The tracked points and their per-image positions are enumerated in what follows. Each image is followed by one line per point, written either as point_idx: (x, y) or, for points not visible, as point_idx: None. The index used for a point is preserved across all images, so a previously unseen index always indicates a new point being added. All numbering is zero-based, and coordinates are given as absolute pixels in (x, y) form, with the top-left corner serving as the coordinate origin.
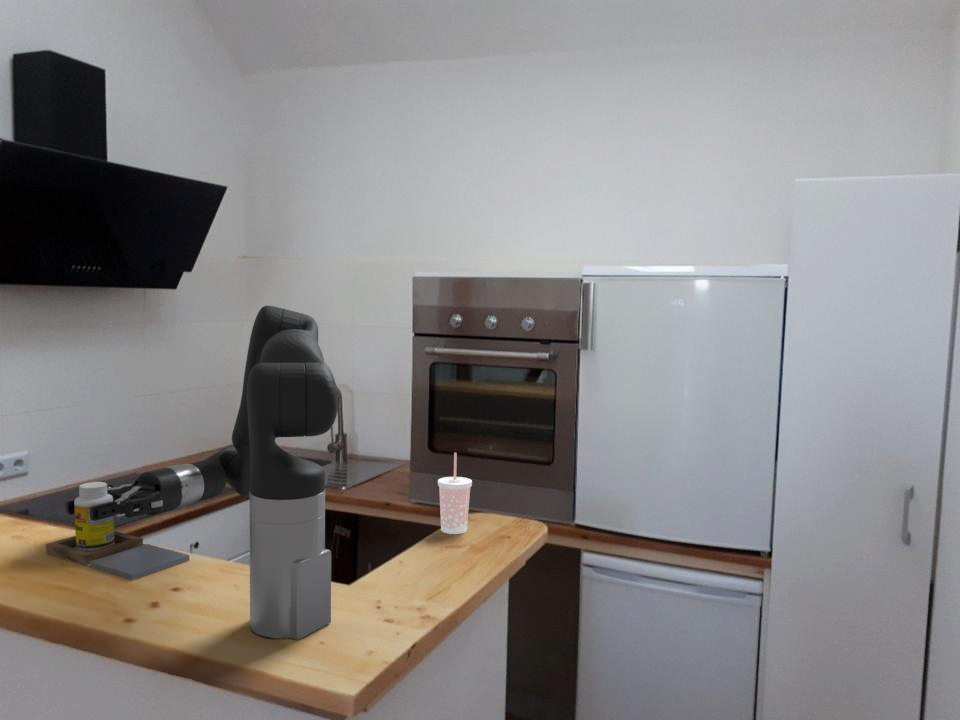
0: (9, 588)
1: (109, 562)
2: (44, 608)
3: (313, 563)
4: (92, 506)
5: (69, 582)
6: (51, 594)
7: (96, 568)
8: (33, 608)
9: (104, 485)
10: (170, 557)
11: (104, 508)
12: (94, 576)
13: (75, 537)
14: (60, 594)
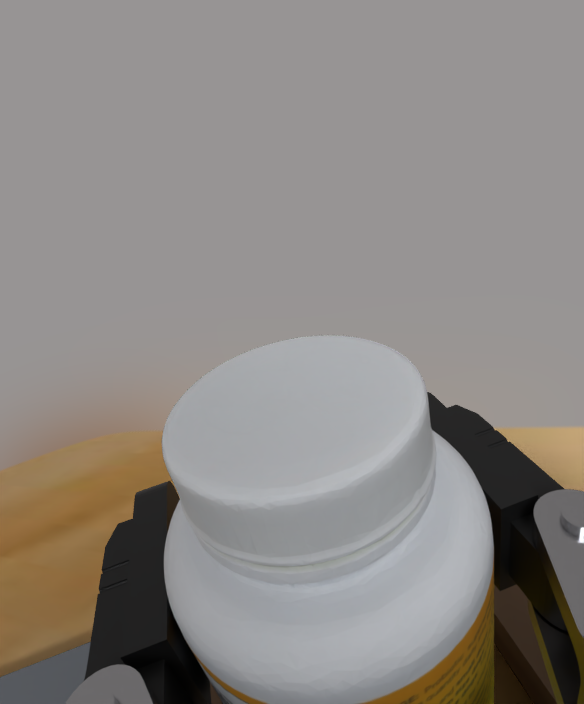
0: None
1: (62, 696)
2: (8, 478)
3: None
4: (164, 487)
5: (90, 542)
6: (62, 496)
7: None
8: (33, 463)
9: (176, 471)
10: None
11: (104, 567)
12: (56, 621)
13: (513, 613)
14: (39, 512)
